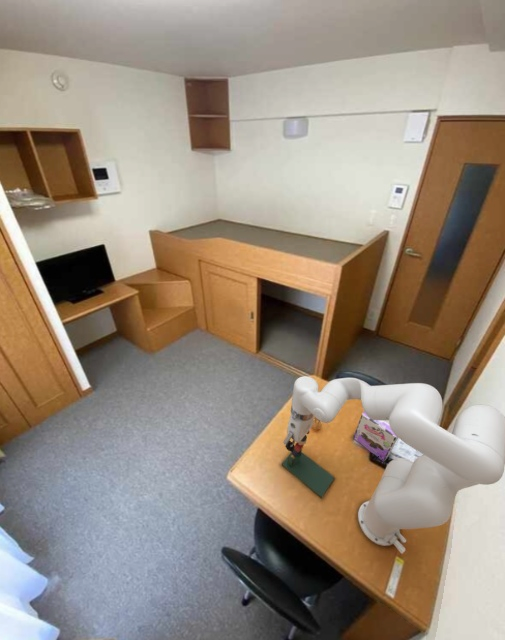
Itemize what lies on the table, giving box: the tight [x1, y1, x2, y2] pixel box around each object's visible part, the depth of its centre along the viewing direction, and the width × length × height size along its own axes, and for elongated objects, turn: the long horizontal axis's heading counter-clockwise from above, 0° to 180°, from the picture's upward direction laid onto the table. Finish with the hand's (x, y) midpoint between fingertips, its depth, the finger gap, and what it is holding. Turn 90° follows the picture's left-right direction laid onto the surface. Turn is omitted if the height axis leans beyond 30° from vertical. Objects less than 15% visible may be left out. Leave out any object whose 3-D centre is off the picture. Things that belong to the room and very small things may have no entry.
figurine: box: [312, 416, 323, 430], centre depth 118 cm, size 8×6×12 cm
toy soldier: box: [291, 434, 308, 459], centre depth 102 cm, size 14×4×3 cm
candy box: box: [352, 411, 399, 463], centre depth 110 cm, size 14×6×16 cm, turn 42°
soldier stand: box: [281, 448, 335, 499], centre depth 104 cm, size 18×9×6 cm, turn 48°
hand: (297, 440), depth 101 cm, fingers open, 9 cm apart
